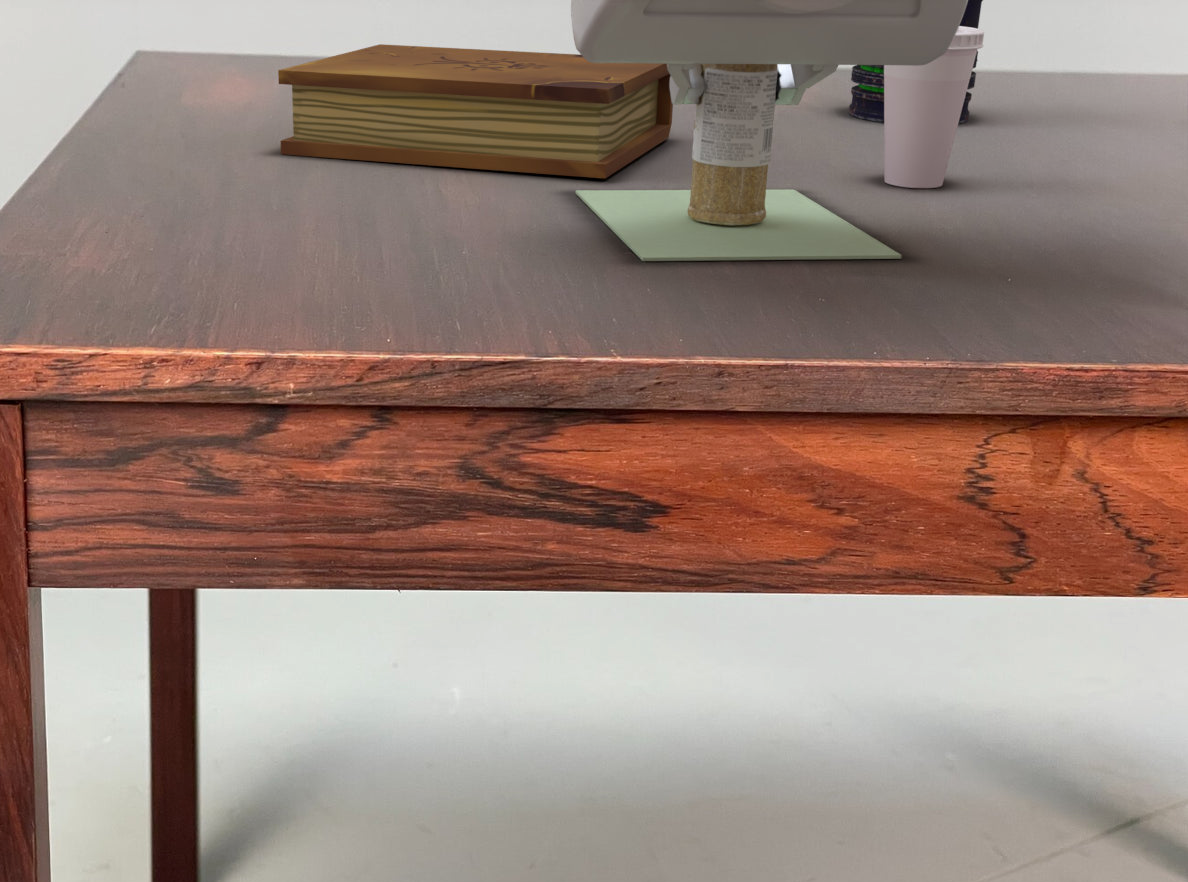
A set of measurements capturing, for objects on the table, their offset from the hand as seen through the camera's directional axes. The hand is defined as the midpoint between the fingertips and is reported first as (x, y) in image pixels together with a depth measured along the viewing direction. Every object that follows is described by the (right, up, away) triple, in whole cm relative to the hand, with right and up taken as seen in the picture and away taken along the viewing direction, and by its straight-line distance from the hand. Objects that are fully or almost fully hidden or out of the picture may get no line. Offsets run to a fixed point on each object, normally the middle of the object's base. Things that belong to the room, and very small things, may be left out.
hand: (732, 95), depth 91 cm
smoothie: (+14, -2, +15) cm, 21 cm away
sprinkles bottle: (0, -7, +2) cm, 7 cm away
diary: (-14, +3, +25) cm, 29 cm away
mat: (0, -7, +2) cm, 7 cm away
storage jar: (+22, +10, +43) cm, 49 cm away
